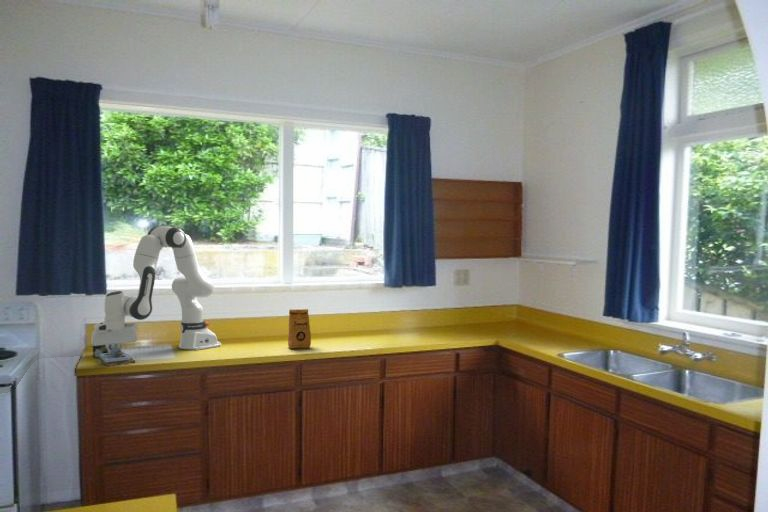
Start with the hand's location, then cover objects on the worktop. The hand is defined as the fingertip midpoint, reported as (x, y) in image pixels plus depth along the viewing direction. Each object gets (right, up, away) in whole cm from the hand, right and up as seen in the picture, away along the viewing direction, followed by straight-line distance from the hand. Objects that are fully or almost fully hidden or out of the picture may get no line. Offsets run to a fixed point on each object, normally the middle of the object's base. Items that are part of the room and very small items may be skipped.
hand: (114, 352), depth 266 cm
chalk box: (-11, -4, +13) cm, 17 cm away
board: (+1, -4, +1) cm, 5 cm away
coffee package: (+84, -5, +40) cm, 93 cm away
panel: (0, -3, 0) cm, 3 cm away
